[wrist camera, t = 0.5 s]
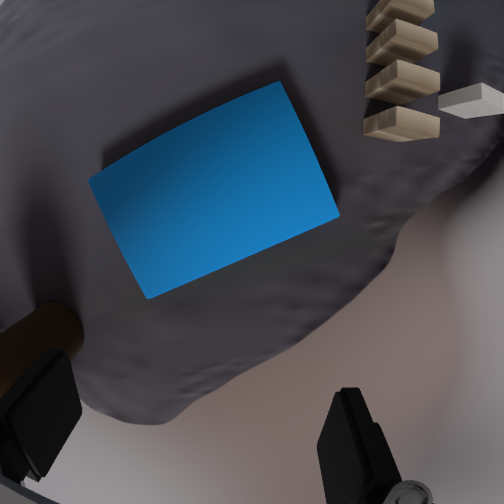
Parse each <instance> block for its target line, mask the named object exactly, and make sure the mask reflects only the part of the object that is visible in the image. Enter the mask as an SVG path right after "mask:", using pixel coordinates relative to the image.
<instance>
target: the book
mask: <svg viewBox="0 0 504 504" xmlns="http://www.w3.org/2000/svg"><path fill="white" fill-rule="evenodd" d="M88 182H89V185H90V187H91V189H92V191H93V194H94V196H95V198H96V200H97V202H98V205H99V207H100V209H101V211H102V213H103V215H104V218H105V220H106V222H107V224H108V226H109V228H110V230H111V232H112V234H113V236H114V238H115V240H116V242H117V244H118V246H119V248H120V250H121V252H122V254H123V256H124V258H125V260H126V262H127V263H128V265H129V267H130V269H131V271H132V273H133V275H134V276H135V278H136V280H137V282H138V284H139V286H140V287H141V289H142V291H143V293H144V294H145V296H146V298H147V299H149V298H153V297H155V296H158V295H160V294H162V293H165V292H167V291H169V290H172V289H174V288H176V287H178V286H181V285H183V284H185V283H188V282H190V281H192V280H195V279H197V278H199V277H202V276H204V275H206V274H209V273H211V272H213V271H215V270H218V269H220V268H222V267H225V266H227V265H229V264H232V263H234V262H236V261H239V260H241V259H243V258H245V257H248V256H250V255H252V254H255V253H257V252H259V251H262V250H264V249H266V248H268V247H271V246H273V245H275V244H278V243H280V242H282V241H285V240H287V239H289V238H292V237H294V236H296V235H298V234H301V233H303V232H305V231H308V230H310V229H312V228H315V227H317V226H319V225H321V224H324V223H326V222H328V221H331V220H333V219H335V218H337V217H339V216H340V214H339V212H338V209H337V207H336V204H335V202H334V199H333V197H332V194H331V192H330V189H329V187H328V184H327V182H326V180H325V177H324V175H323V172H322V170H321V168H320V165H319V163H318V161H317V158H316V156H315V154H314V152H313V149H312V147H311V145H310V143H309V140H308V138H307V136H306V134H305V132H304V129H303V127H302V125H301V123H300V121H299V119H298V117H297V115H296V112H295V110H294V108H293V106H292V104H291V102H290V100H289V98H288V96H287V94H286V92H285V90H284V88H283V86H282V84H281V82H280V81H278V82H275V83H272V84H270V85H267V86H265V87H262V88H260V89H257V90H255V91H253V92H250V93H248V94H245V95H243V96H241V97H238V98H236V99H234V100H232V101H229V102H227V103H225V104H223V105H221V106H218V107H216V108H214V109H212V110H210V111H208V112H206V113H204V114H201V115H199V116H197V117H195V118H193V119H191V120H189V121H187V122H185V123H183V124H181V125H180V126H178V127H176V128H174V129H172V130H170V131H168V132H166V133H164V134H163V135H161V136H159V137H157V138H155V139H153V140H152V141H150V142H148V143H146V144H145V145H143V146H141V147H139V148H138V149H136V150H134V151H133V152H131V153H129V154H127V155H126V156H124V157H123V158H121V159H119V160H118V161H116V162H114V163H113V164H111V165H110V166H108V167H106V168H105V169H103V170H102V171H100V172H99V173H97V174H96V175H94V176H92V177H91V178H89V179H88Z"/></svg>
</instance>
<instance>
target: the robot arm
mask: <svg viewBox="0 0 504 504" xmlns="http://www.w3.org/2000/svg"><path fill="white" fill-rule="evenodd" d="M81 415H82V406H81V402H80V399H79V395H78V391H77V387H76V383H75V379H74V375H73V371H72V367H71V362H70V358H69V356H68V355H67V354H66V352H65V350H63V349H59V348H56V347H52V346H50V347H48V348H47V349H46V350H45V351H44V352H43V353H42V354H41V355H40V356H39V357H38V358H37V359H36V360H35V361H34V362H33V364H32V365H31V366H30V367H29V368H28V369H27V370H26V371H25V372H24V373H23V374H22V375H21V376H20V377H19V378H18V379H17V380H16V381H15V382H14V384H13V385H12V386H11V387H10V388H9V389H8V390H7V391H6V392H5V393H4V394H3V396H2V397H1V398H0V504H59V503H57V502H55V501H52V500H50V499H48V498H46V497H43V496H41V495H39V494H37V493H35V492H33V491H31V490H29V489H27V488H26V487H25V483H24V478H25V476H27V477H29V478H31V479H33V480H35V481H37V482H39V481H40V479H41V477H45V476H46V475H47V473H48V471H49V470H50V468H51V466H52V464H53V463H54V461H55V459H56V457H57V456H58V454H59V452H60V450H61V449H62V447H63V445H64V444H65V442H66V440H67V439H68V437H69V435H70V434H71V432H72V430H73V429H74V427H75V425H76V424H77V422H78V420H79V419H80V417H81ZM317 453H318V458H319V464H320V469H321V474H322V480H323V486H324V491H325V497H326V503H327V504H434V503H432V502H433V497H432V493H431V491H430V489H429V488H428V487H427V486H426V485H424V484H423V483H421V482H418V481H414V480H406V481H402V479H401V476H400V473H399V471H398V468H397V466H396V463H395V461H394V458H393V456H392V453H391V451H390V448H389V446H388V444H387V441H386V439H385V437H384V434H383V432H382V429H381V427H380V425H379V424H378V423H374V422H373V421H372V418H371V415H370V413H369V410H368V408H367V405H366V403H365V401H364V398H363V396H362V393H361V391H360V389H359V388H357V387H356V388H342V389H341V390H340V392H336V393H335V395H334V398H333V401H332V404H331V406H330V410H329V412H328V415H327V418H326V421H325V424H324V426H323V429H322V432H321V434H320V437H319V440H318V443H317Z"/></svg>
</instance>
